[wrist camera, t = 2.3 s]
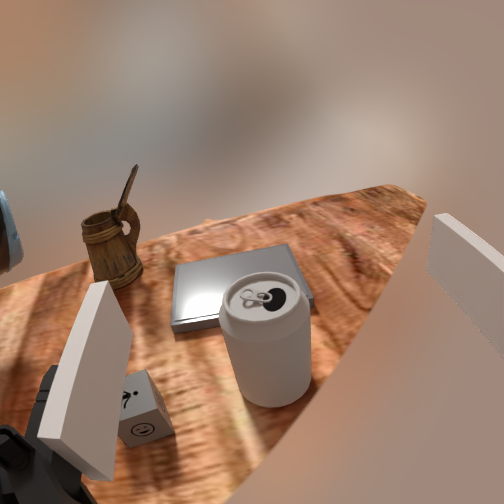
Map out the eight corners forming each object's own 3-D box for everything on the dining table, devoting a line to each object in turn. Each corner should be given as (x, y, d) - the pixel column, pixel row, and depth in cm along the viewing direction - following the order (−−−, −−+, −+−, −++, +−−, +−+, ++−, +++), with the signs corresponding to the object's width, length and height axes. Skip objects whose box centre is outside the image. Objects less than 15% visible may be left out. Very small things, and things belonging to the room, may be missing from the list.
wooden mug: (166, 279, 50) (133, 171, 41) (91, 295, 49) (50, 196, 40) (167, 251, 58) (141, 157, 48) (101, 266, 56) (69, 178, 47)
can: (307, 414, 27) (305, 328, 21) (231, 408, 29) (200, 323, 23) (314, 355, 33) (312, 264, 27) (247, 352, 35) (227, 264, 29)
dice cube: (121, 411, 29) (100, 384, 27) (162, 397, 31) (145, 368, 28) (130, 448, 25) (107, 424, 23) (175, 433, 27) (157, 408, 24)
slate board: (173, 333, 39) (170, 324, 38) (178, 272, 51) (175, 264, 50) (313, 306, 40) (313, 296, 39) (288, 251, 52) (287, 242, 51)
